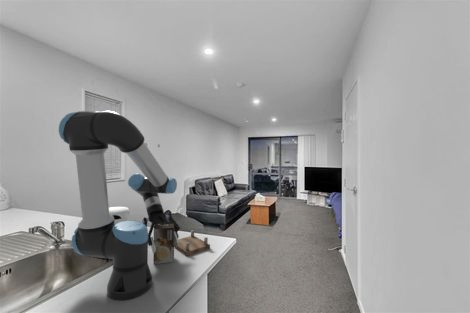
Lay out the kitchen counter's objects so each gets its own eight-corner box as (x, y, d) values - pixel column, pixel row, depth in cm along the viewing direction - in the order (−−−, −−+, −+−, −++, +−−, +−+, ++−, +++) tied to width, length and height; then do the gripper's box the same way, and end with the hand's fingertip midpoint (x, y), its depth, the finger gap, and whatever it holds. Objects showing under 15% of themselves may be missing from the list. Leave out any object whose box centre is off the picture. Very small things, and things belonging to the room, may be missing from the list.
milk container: (131, 234, 134) (131, 205, 134) (129, 245, 118) (129, 212, 118) (98, 238, 127) (98, 207, 127) (91, 250, 111) (92, 215, 111)
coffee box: (174, 256, 107) (174, 223, 107) (174, 262, 101) (174, 227, 101) (154, 258, 104) (154, 224, 104) (152, 264, 98) (153, 229, 98)
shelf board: (186, 256, 107) (186, 245, 107) (170, 244, 120) (171, 234, 120) (209, 248, 116) (210, 238, 116) (193, 238, 129) (193, 229, 129)
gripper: (172, 208, 121) (186, 245, 110) (128, 215, 106) (138, 259, 95) (177, 200, 117) (191, 238, 106) (131, 206, 102) (142, 251, 91)
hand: (166, 248), depth 100 cm, fingers closed on coffee box, 10 cm apart
